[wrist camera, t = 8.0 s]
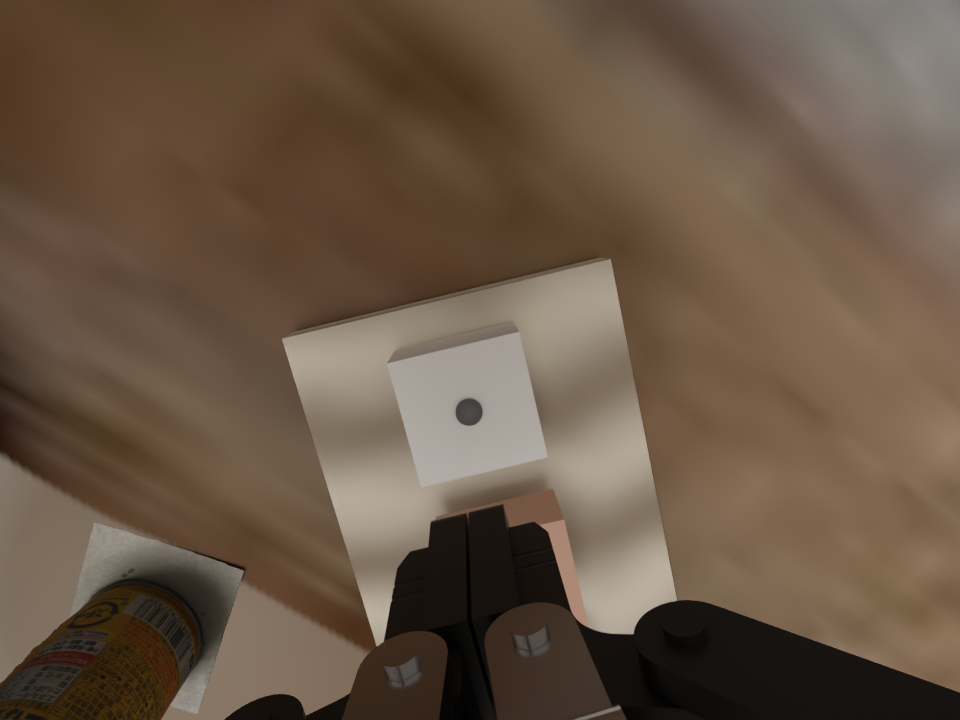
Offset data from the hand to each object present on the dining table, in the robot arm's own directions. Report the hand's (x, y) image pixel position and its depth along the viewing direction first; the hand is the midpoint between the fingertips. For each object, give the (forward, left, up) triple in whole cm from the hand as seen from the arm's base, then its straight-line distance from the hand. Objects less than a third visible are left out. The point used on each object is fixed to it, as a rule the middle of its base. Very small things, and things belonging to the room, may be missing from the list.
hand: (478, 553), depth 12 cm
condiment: (+8, -18, -17) cm, 26 cm away
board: (+7, 0, -16) cm, 18 cm away
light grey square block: (0, 0, -14) cm, 14 cm away
